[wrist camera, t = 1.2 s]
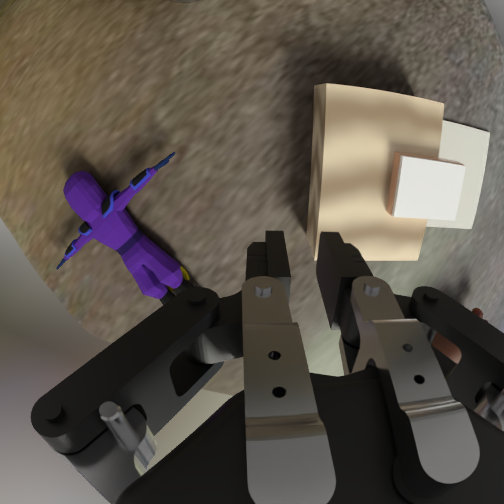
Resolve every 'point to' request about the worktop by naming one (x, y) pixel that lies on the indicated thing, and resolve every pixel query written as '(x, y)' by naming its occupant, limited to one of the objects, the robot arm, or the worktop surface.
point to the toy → (123, 233)
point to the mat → (474, 158)
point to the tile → (425, 187)
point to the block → (366, 166)
